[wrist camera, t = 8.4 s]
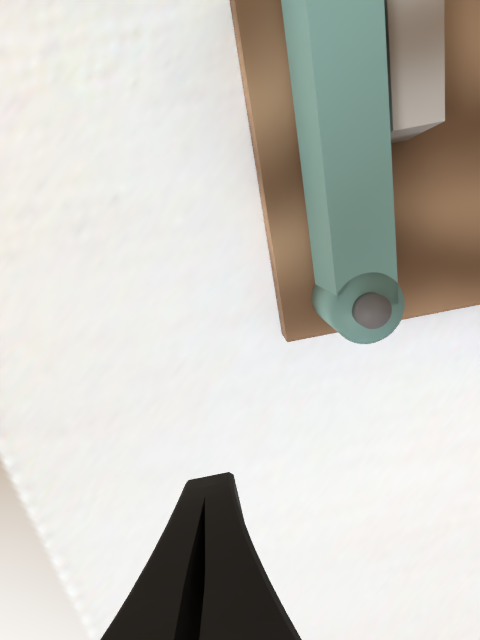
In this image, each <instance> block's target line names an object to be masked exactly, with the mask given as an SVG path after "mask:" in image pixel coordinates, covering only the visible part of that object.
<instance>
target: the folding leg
mask: <svg viewBox="0 0 480 640" xmlns="http://www.w3.org/2000/svg"><path fill="white" fill-rule="evenodd" d="M281 4H282V12H283V21H284V29H285V37H286V45H287V54H288V62H289V70H290V79H291V87H292V95H293V104H294V112H295V120H296V129H297V137H298V145H299V154H300V162H301V170H302V178H303V187H304V195H305V203H306V212H307V220H308V228H309V237H310V245H311V253H312V262H313V270H314V278H315V286H314V288H313V293H312V303H313V306H314V309H315V311H316V313H317V314H318V315H319V316H320V317H321V318H322V319H323V320H324V321H325V322H327V323H328V324H329V325H330V326H331V327H333V328H334V329H335V330H336V331H337V332H339V333H340V334H341V335H342V336H343V337H345V338H346V339H348V340H349V341H352V342H354V343H359V344H370V343H374V342H377V341H380V340H382V339H384V338H385V337H387V336H388V335H390V334H391V333H392V332H393V331H394V330H395V329H396V327H397V326H398V324H399V323H400V321H401V319H402V316H403V313H404V308H405V300H404V295H403V292H402V289H401V288H400V286H399V285H398V278H397V257H396V236H395V216H394V195H393V174H392V154H391V133H390V112H389V91H388V71H387V50H386V29H385V8H384V0H281Z"/></svg>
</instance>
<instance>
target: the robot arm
mask: <svg viewBox="0 0 480 640" xmlns="http://www.w3.org/2000/svg"><path fill="white" fill-rule="evenodd" d="M101 640H301V638H300V636H299V634H298V633H297V631H296V629H295V627H294V625H293V624H292V622H291V620H290V618H289V617H288V615H287V613H286V611H285V609H284V607H283V605H282V604H281V602H280V600H279V598H278V596H277V594H276V592H275V590H274V588H273V586H272V584H271V582H270V580H269V578H268V576H267V574H266V572H265V570H264V568H263V566H262V563H261V561H260V559H259V557H258V555H257V553H256V550H255V548H254V546H253V543H252V541H251V538H250V536H249V533H248V531H247V528H246V525H245V523H244V518H243V514H242V510H241V505H240V501H239V497H238V492H237V488H236V484H235V479H234V475H233V474H231V473H230V472H227V473H222V474H217V475H212V476H207V477H202V478H197V479H192V480H188V482H187V483H186V484H185V487H184V489H183V491H182V494H181V496H180V498H179V500H178V502H177V505H176V507H175V509H174V511H173V513H172V515H171V517H170V519H169V522H168V524H167V526H166V528H165V530H164V532H163V533H162V535H161V537H160V539H159V541H158V543H157V545H156V547H155V549H154V551H153V553H152V555H151V557H150V558H149V560H148V562H147V564H146V566H145V567H144V569H143V571H142V573H141V574H140V576H139V578H138V580H137V581H136V583H135V585H134V587H133V588H132V590H131V592H130V594H129V595H128V597H127V599H126V600H125V602H124V604H123V605H122V607H121V608H120V610H119V612H118V613H117V615H116V616H115V618H114V620H113V621H112V623H111V624H110V626H109V627H108V629H107V630H106V632H105V634H104V635H103V637H102V638H101Z"/></svg>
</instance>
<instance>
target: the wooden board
mask: <svg viewBox="0 0 480 640" xmlns="http://www.w3.org/2000/svg"><path fill="white" fill-rule="evenodd" d="M230 6H231V12H232V19H233V25H234V31H235V38H236V44H237V50H238V57H239V63H240V69H241V76H242V82H243V88H244V95H245V101H246V108H247V114H248V120H249V127H250V133H251V139H252V146H253V152H254V158H255V165H256V171H257V178H258V184H259V190H260V197H261V203H262V209H263V216H264V222H265V228H266V235H267V241H268V248H269V254H270V260H271V267H272V273H273V279H274V286H275V292H276V298H277V305H278V311H279V318H280V324H281V330H282V334H283V336H284V338H285V339H286V341H287V342H290V341H296V340H301V339H306V338H311V337H316V336H321V335H326V334H331V333H336V332H337V331H336V330H335V329H334V328H333V327H331V326H330V325H329V324H328V323H327V322H325V321H324V320H323V319H322V318H321V317H320V316H319V315H318V314H317V313H316V311H315V309H314V306H313V303H312V293H313V288H314V286H315V278H314V270H313V262H312V253H311V245H310V237H309V228H308V220H307V212H306V203H305V195H304V187H303V178H302V170H301V162H300V154H299V145H298V137H297V129H296V120H295V112H294V104H293V95H292V87H291V79H290V70H289V62H288V54H287V45H286V37H285V29H284V21H283V12H282V4H281V0H230ZM384 8H385V29H386V50H387V71H388V91H389V112H390V133H391V154H392V174H393V195H394V216H395V236H396V257H397V278H398V285H399V286H400V288H401V289H402V292H403V295H404V300H405V308H404V313H403V316H402V319H401V320H403V319H408V318H413V317H418V316H423V315H429V314H434V313H439V312H444V311H449V310H454V309H459V308H464V307H469V306H475V305H480V0H384Z"/></svg>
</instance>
